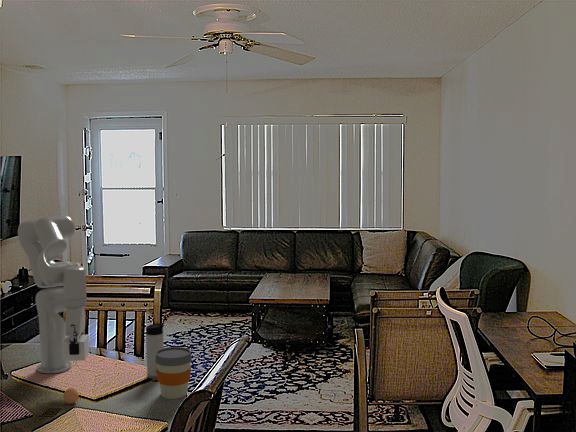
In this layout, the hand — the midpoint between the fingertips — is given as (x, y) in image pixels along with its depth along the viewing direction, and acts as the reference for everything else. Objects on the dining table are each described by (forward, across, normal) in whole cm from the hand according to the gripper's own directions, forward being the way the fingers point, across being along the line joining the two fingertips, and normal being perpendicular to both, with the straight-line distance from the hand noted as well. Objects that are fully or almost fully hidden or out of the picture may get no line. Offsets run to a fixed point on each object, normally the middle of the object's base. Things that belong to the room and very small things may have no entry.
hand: (77, 350), depth 236 cm
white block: (+2, 0, 0) cm, 2 cm away
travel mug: (+15, -11, +26) cm, 32 cm away
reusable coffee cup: (+14, +7, +34) cm, 38 cm away
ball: (+12, +12, 0) cm, 17 cm away
